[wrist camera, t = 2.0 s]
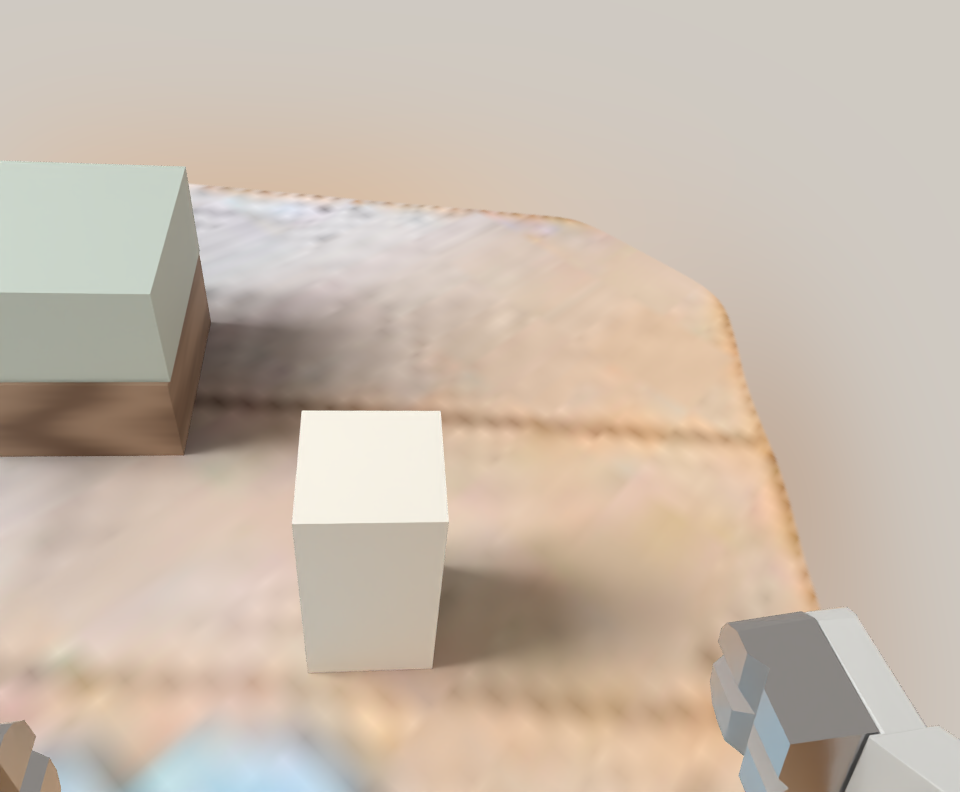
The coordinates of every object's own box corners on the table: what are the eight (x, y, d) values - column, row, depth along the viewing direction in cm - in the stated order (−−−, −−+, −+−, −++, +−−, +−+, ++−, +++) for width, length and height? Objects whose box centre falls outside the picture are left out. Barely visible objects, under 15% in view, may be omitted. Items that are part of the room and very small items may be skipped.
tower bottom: (-35, 460, 40) (-74, 384, 36) (25, 322, 47) (-3, 248, 43) (184, 458, 41) (167, 385, 38) (211, 325, 48) (198, 253, 45)
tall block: (307, 673, 34) (291, 524, 27) (314, 566, 37) (301, 410, 30) (432, 668, 34) (448, 521, 27) (427, 564, 38) (440, 410, 31)
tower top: (-71, 382, 37) (-117, 290, 33) (-2, 247, 44) (-34, 159, 40) (169, 381, 38) (150, 294, 34) (199, 251, 45) (185, 166, 41)
